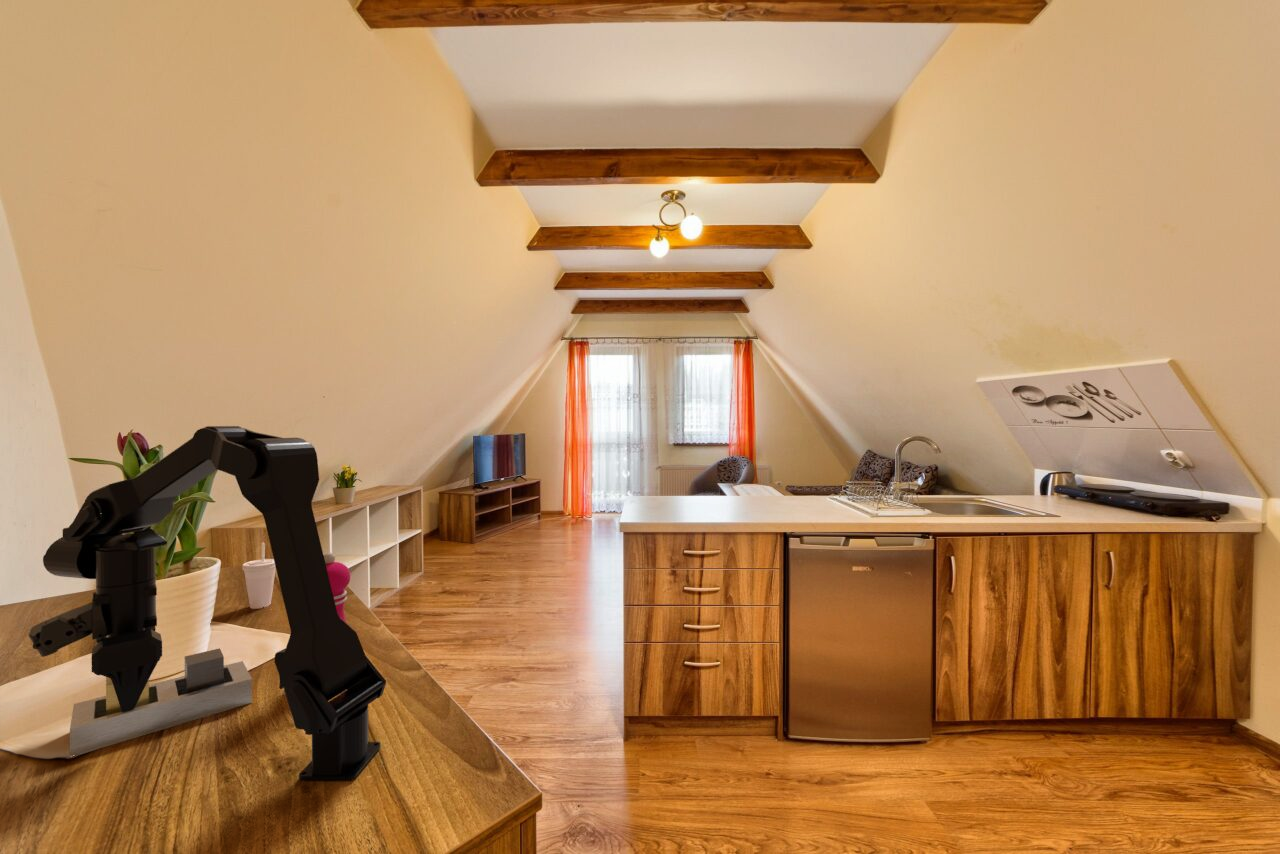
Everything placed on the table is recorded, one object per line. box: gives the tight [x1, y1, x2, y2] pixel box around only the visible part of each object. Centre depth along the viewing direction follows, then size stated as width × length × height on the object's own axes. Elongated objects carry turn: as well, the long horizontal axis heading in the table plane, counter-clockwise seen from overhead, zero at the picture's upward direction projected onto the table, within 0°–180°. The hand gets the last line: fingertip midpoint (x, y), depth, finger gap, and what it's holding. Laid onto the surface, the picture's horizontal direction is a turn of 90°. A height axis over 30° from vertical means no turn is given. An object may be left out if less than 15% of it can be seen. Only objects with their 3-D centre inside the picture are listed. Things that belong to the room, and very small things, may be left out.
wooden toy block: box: [105, 677, 150, 716], centre depth 71 cm, size 4×4×7 cm
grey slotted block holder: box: [69, 648, 253, 757], centre depth 73 cm, size 18×8×7 cm, turn 135°
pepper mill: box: [323, 552, 351, 623], centre depth 84 cm, size 7×7×20 cm
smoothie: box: [242, 541, 276, 610], centre depth 118 cm, size 6×6×14 cm
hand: (127, 697), depth 71 cm, fingers open, 9 cm apart
